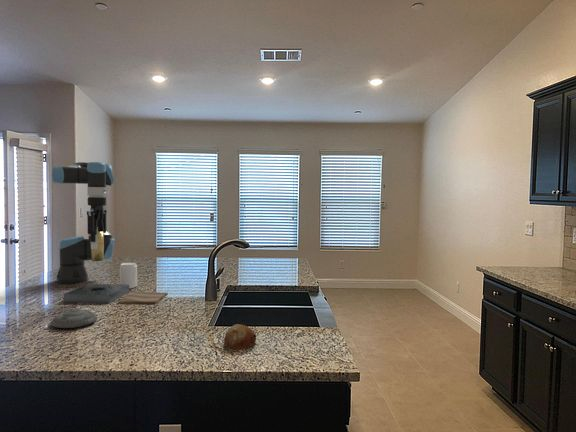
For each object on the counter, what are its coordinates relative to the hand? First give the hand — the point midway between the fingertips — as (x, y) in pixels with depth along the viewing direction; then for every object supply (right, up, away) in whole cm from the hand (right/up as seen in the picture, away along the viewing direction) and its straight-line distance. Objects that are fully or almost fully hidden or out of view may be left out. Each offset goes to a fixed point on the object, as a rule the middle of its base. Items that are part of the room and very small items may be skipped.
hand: (97, 248), depth 180 cm
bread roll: (+71, -27, -53) cm, 93 cm away
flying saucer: (+9, -25, -36) cm, 45 cm away
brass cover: (0, -6, 0) cm, 6 cm away
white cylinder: (+6, -22, +20) cm, 30 cm away
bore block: (0, -22, +1) cm, 22 cm away
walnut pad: (+22, -23, -1) cm, 31 cm away
